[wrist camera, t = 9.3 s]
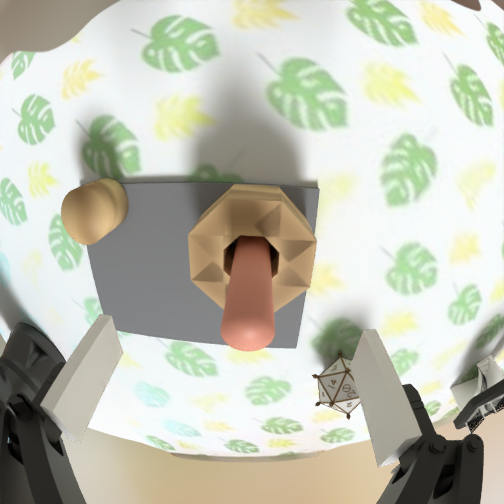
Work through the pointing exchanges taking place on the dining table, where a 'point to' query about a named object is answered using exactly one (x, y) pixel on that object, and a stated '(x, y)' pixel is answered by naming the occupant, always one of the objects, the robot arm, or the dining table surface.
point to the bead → (252, 224)
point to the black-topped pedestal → (479, 395)
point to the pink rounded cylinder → (249, 297)
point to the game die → (338, 387)
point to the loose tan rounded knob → (94, 210)
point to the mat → (174, 265)
